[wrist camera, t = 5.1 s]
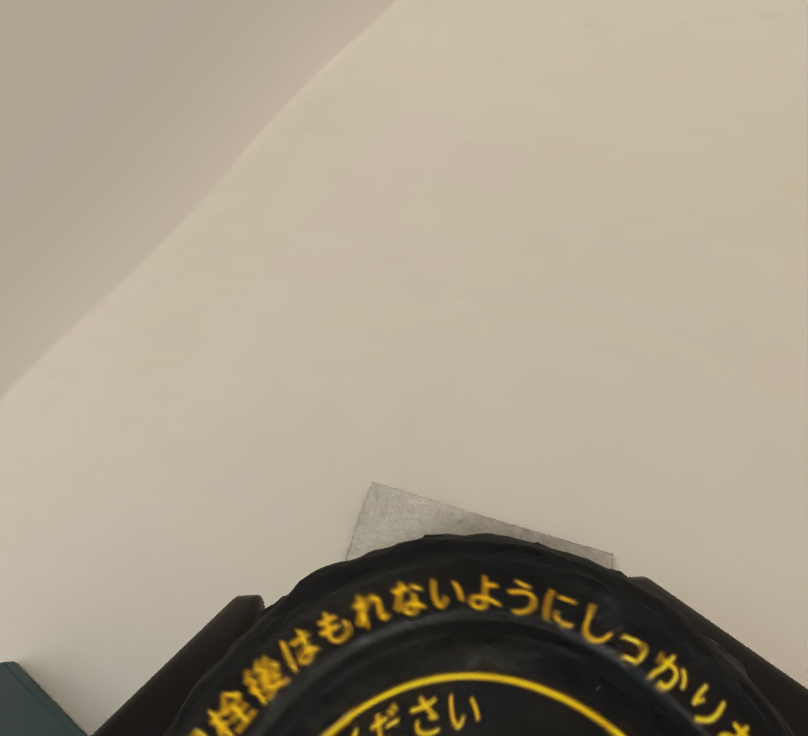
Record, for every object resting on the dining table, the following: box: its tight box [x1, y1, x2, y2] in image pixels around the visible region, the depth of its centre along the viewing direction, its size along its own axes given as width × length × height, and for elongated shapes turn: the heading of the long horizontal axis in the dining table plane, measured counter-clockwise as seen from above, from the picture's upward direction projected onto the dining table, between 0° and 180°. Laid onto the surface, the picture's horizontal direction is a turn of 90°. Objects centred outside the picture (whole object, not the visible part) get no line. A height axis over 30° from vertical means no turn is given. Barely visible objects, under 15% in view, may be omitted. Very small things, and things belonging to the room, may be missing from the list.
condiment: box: [163, 482, 795, 736], centre depth 9 cm, size 7×8×12 cm
